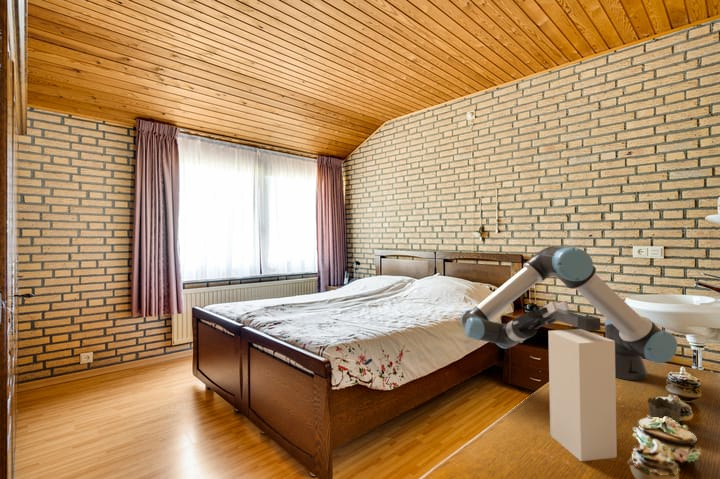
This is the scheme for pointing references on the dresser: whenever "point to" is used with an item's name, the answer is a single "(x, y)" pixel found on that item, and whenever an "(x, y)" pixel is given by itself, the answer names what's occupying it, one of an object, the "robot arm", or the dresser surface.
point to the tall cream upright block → (583, 393)
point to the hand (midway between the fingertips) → (560, 305)
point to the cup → (664, 408)
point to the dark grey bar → (576, 320)
